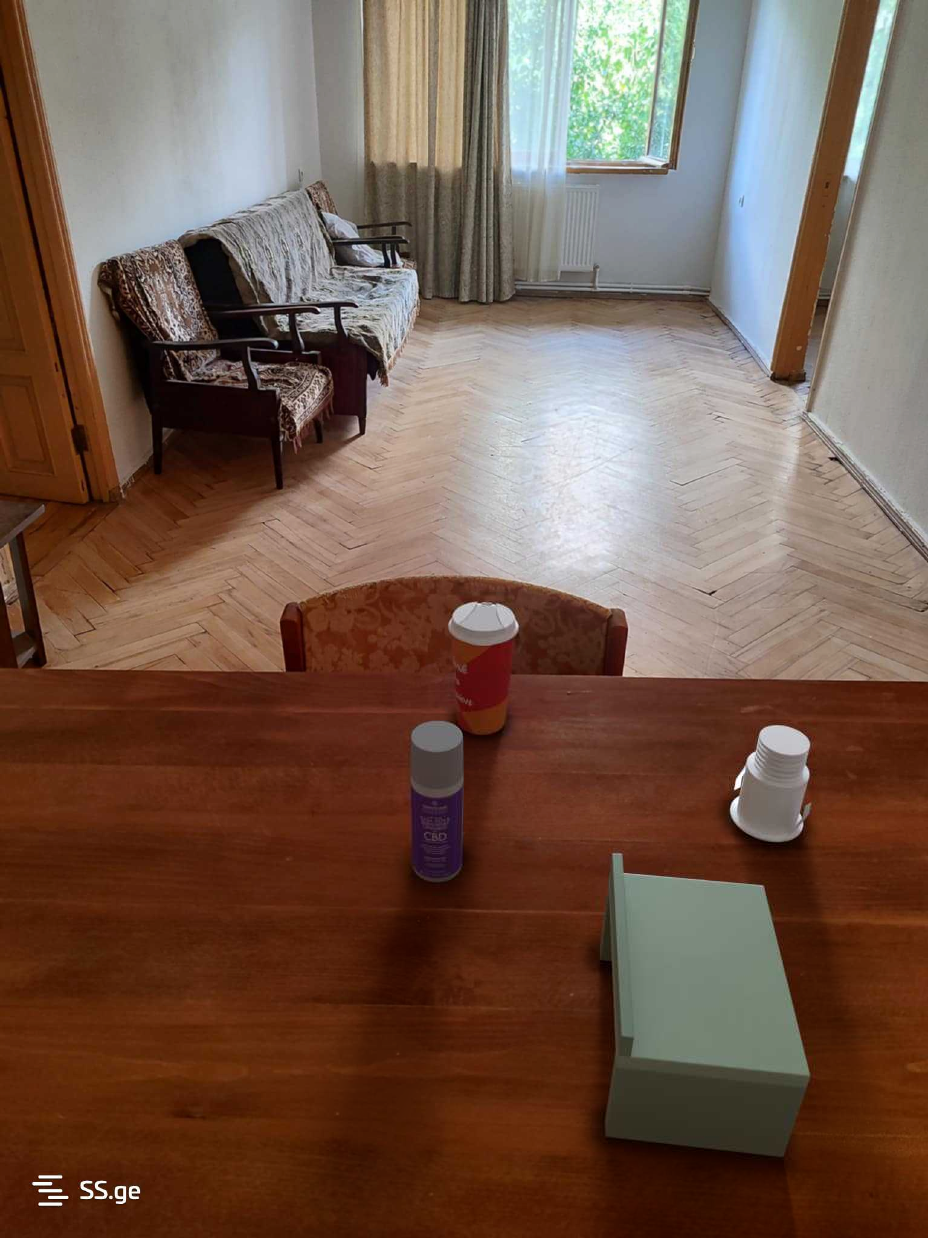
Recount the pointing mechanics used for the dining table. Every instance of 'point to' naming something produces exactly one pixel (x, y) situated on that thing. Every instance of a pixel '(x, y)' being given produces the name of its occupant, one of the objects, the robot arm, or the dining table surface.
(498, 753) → the dining table surface
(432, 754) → the container
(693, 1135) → the green ledge block
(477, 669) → the paper cup
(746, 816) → the downlight
